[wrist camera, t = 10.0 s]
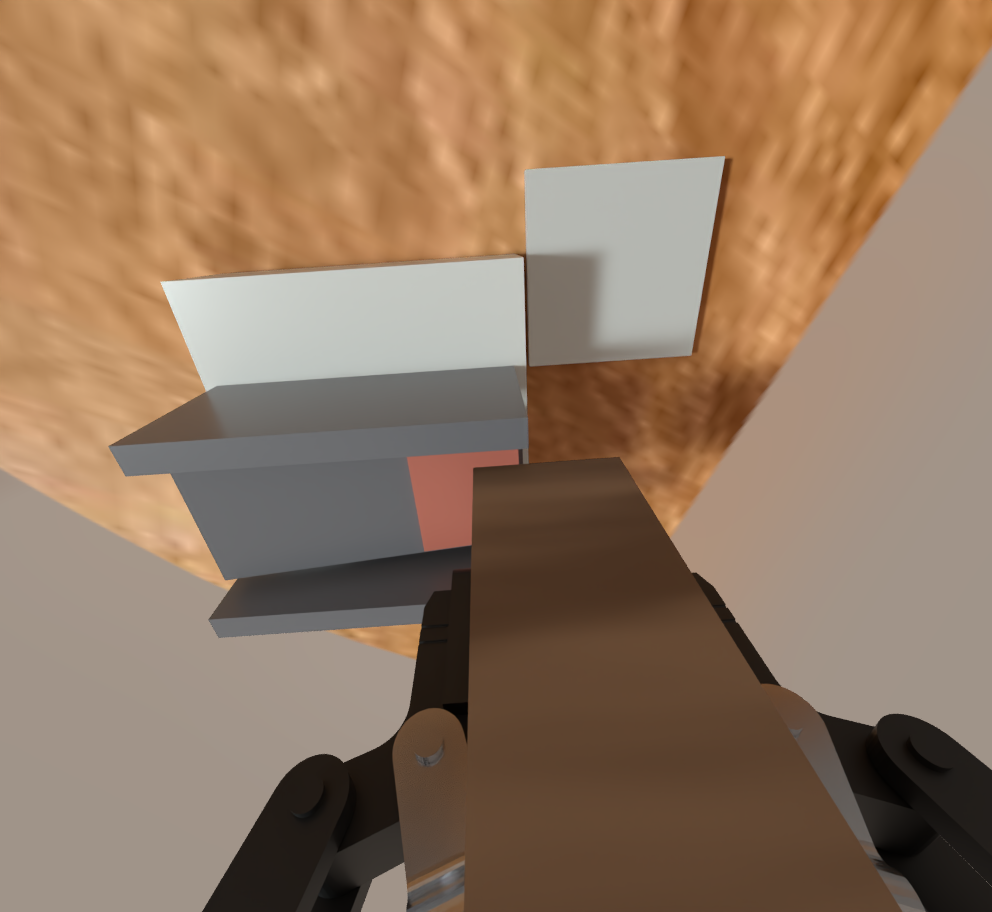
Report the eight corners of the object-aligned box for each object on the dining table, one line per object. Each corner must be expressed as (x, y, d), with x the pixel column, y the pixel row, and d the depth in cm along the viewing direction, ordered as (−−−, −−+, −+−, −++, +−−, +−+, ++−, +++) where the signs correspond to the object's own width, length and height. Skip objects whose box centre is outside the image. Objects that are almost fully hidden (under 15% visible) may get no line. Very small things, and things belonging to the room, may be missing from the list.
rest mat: (524, 171, 17) (525, 169, 16) (718, 158, 17) (725, 156, 16) (528, 363, 20) (529, 366, 20) (686, 353, 20) (691, 355, 20)
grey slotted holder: (223, 273, 18) (3, 303, 10) (514, 253, 18) (545, 266, 10) (319, 550, 26) (242, 699, 17) (524, 535, 26) (545, 678, 17)
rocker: (187, 454, 15) (165, 473, 13) (515, 417, 16) (523, 432, 14) (238, 559, 17) (223, 584, 16) (519, 520, 18) (526, 540, 17)
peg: (473, 467, 12) (445, 1752, 2) (619, 456, 12) (1377, 1673, 2) (484, 574, 15) (498, 1446, 4) (608, 565, 15) (937, 1409, 4)
